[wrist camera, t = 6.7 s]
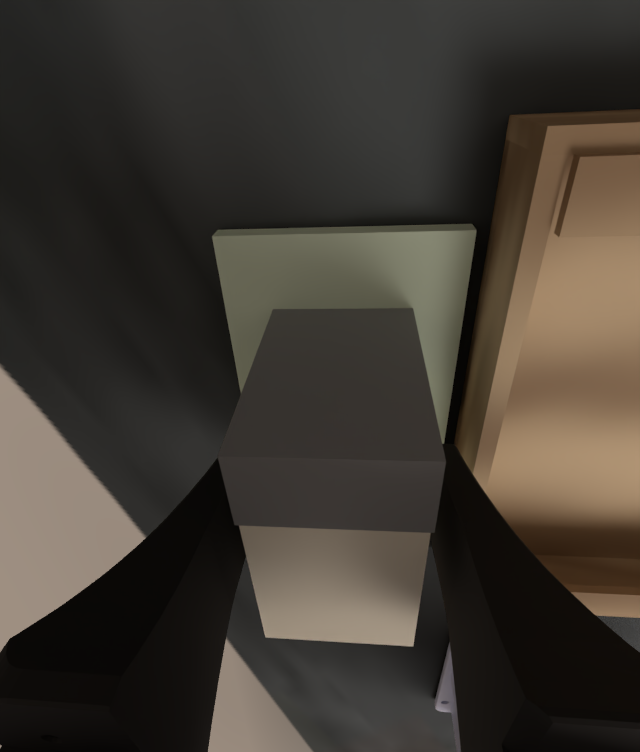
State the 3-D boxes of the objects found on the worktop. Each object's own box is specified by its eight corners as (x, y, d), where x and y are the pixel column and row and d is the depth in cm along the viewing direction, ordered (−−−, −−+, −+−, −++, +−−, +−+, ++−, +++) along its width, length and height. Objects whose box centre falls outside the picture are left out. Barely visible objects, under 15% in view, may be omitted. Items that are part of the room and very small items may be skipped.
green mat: (429, 513, 19) (431, 525, 18) (266, 507, 19) (263, 519, 19) (472, 223, 12) (476, 230, 11) (217, 229, 12) (211, 236, 12)
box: (399, 476, 17) (415, 650, 12) (292, 473, 17) (262, 641, 12) (413, 308, 13) (445, 461, 8) (272, 309, 13) (217, 456, 8)
